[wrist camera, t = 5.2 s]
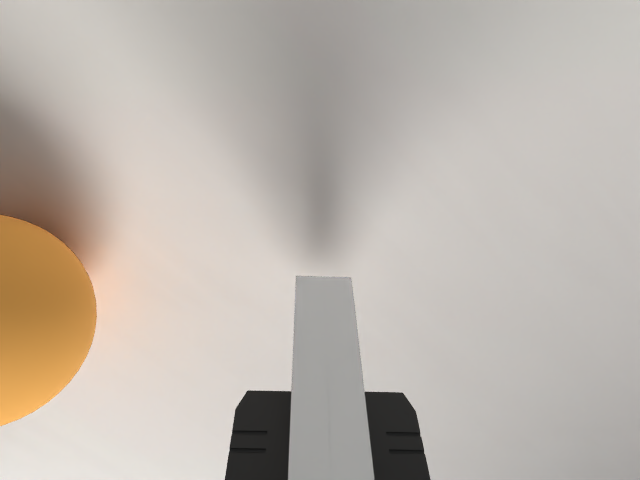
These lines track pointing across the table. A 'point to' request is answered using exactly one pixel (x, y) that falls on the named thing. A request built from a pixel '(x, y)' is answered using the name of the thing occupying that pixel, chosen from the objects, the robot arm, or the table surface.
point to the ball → (40, 317)
